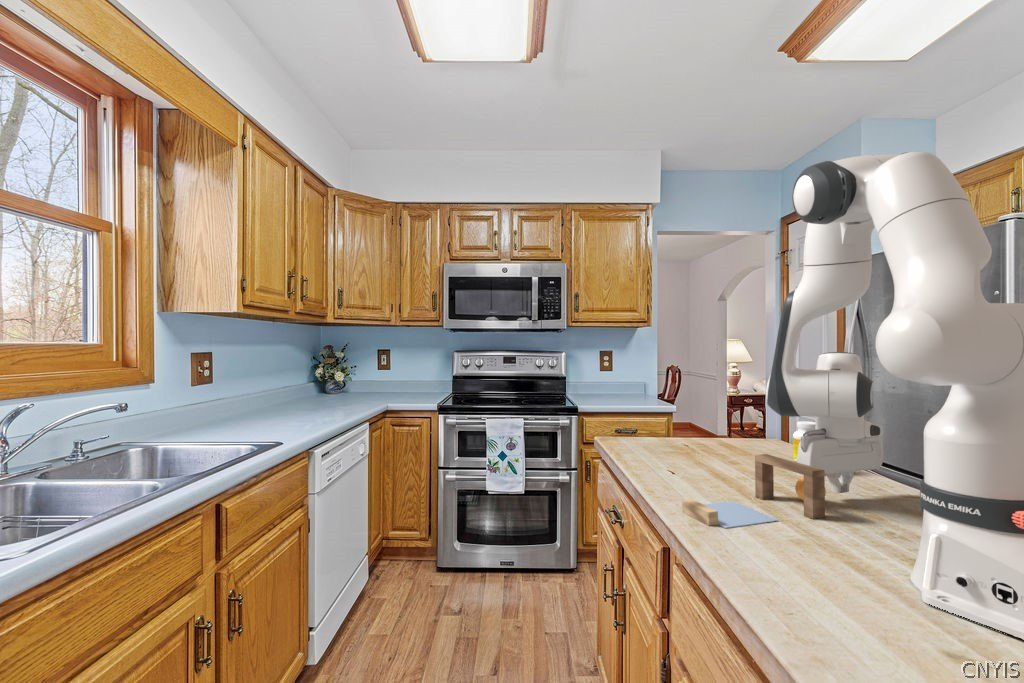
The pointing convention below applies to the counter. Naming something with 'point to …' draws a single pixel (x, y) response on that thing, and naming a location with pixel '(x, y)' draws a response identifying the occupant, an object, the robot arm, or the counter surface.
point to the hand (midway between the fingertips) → (840, 492)
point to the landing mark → (738, 515)
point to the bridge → (812, 475)
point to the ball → (801, 488)
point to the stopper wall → (700, 512)
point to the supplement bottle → (802, 428)
